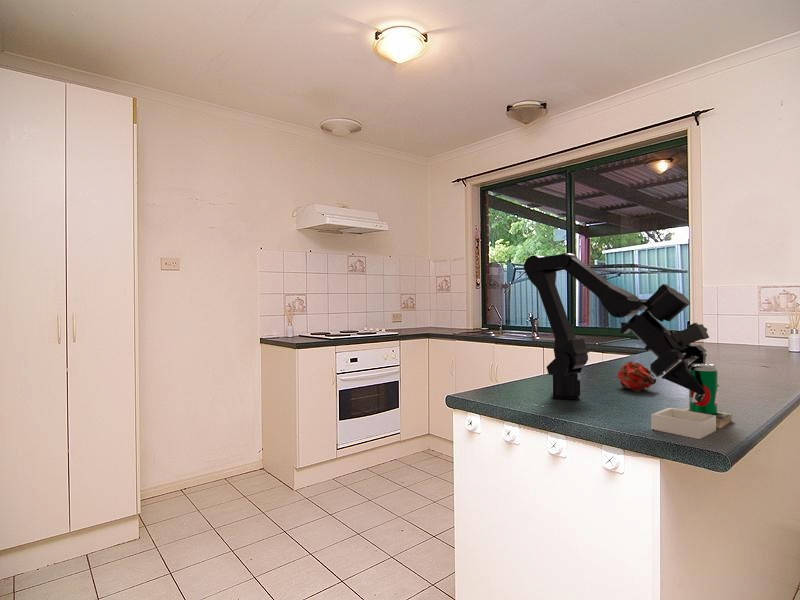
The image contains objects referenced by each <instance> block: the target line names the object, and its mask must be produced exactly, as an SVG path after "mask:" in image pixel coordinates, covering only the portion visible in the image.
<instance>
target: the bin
mask: <svg viewBox="0 0 800 600" xmlns="http://www.w3.org/2000/svg"><path fill="white" fill-rule="evenodd" d="M650 415H651V417H650V418H651V421H650V422H651V423H650V425H651V426H650V427H651V430H653V429H654V430H655V431H658V432H663V433H669V434H673V435H678V436H683V437H688V438H691V439H696V440H697V439H698V440H701V439H703V438H705V437H706V436H709V435H711V434H713V433H715V432H716V431H717V428H716V415H710V414H704V413H698V412H693V411H687V410H683V409H680V408H674V407H668V408H665V409H662V410H659V411H657V412H654V413H651V414H650Z"/></svg>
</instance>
